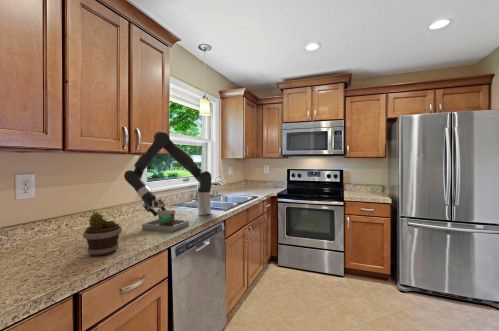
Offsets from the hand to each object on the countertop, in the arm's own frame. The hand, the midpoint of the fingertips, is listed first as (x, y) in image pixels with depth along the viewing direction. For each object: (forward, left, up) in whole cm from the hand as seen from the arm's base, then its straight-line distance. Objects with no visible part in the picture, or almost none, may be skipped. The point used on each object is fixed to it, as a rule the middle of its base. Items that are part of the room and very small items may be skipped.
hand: (161, 213), depth 150 cm
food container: (+1, +3, -8) cm, 8 cm away
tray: (0, +3, -8) cm, 9 cm away
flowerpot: (+43, +4, -8) cm, 44 cm away
